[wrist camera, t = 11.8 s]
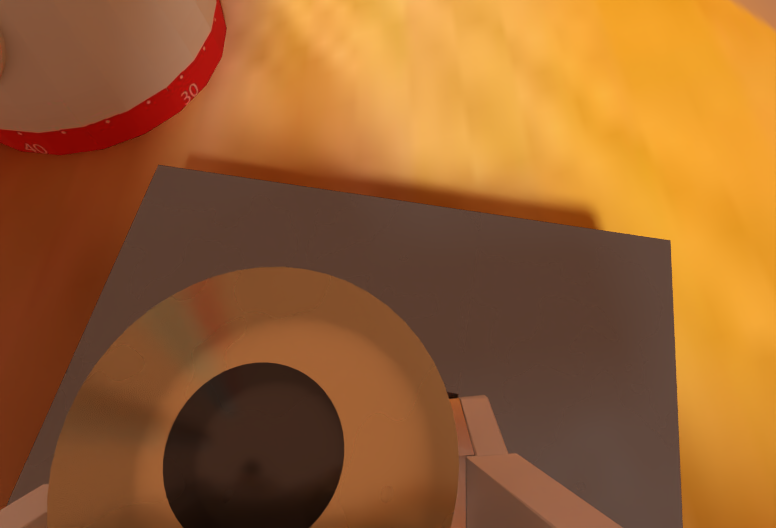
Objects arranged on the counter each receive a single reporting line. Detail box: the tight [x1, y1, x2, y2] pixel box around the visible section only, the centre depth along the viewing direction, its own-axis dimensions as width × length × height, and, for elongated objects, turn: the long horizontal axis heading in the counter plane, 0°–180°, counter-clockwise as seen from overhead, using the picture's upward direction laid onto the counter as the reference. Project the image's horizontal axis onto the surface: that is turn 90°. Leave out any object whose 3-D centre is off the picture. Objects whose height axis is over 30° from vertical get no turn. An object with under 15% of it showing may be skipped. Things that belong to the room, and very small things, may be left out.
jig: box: [7, 165, 683, 528], centre depth 16 cm, size 18×18×4 cm
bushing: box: [47, 267, 459, 528], centre depth 10 cm, size 5×5×8 cm
